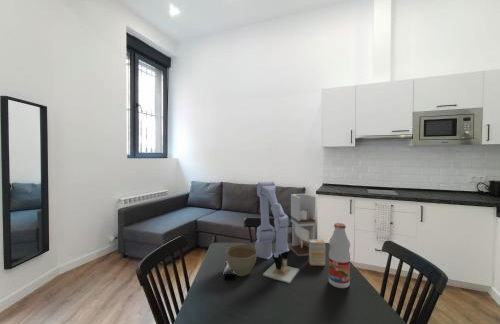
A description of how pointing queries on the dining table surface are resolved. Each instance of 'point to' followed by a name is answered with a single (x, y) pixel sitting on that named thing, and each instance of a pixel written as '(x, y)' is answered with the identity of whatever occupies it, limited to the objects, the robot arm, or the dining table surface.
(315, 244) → the supplement box
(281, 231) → the robot arm
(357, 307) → the dining table surface
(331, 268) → the fruit juice
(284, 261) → the maple block
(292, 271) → the sage board
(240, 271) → the planter bowl
